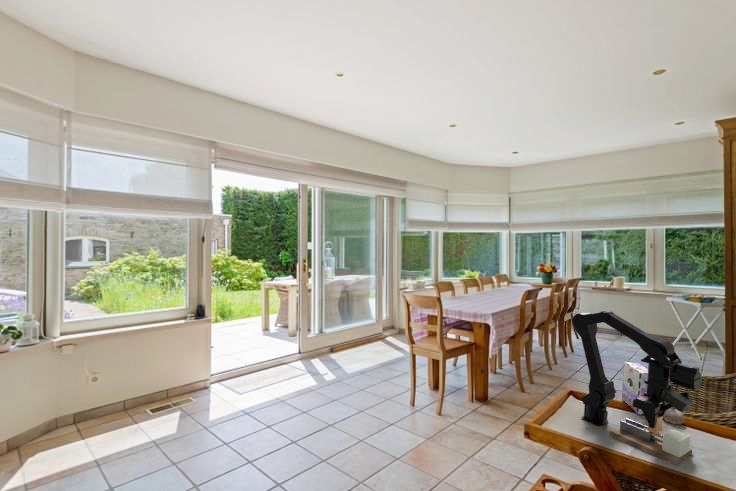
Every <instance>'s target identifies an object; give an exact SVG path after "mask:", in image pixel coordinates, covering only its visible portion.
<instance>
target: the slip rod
mask: <svg viewBox="0 0 736 491" xmlns="http://www.w3.org/2000/svg"><path fill="white" fill-rule="evenodd" d="M663 419H664V418H663V416H661V415H657V419H656V423H655V426H654V428H650V427H649V425H648V424H647V427H648V429H646V428H643V430H646V431H648V432H651V439H653V440H656V441H658V442H660V443H663V434H661V433H660V432H662V430H663Z"/></svg>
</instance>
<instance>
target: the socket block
mask: <svg viewBox="0 0 736 491" xmlns="http://www.w3.org/2000/svg"><path fill="white" fill-rule="evenodd" d="M662 435H663V443H662V450H663V451H665V452H668V453H670V454H672V455H675V456H677V457H681V456H683V455H684V454H686V453H687V452H689V448H690V442H691V435H690V434H686V433H684V432H681V431H679V430H676V429H674V428H673V429H671V430H668V431H667V432H665V433H663V434H662Z"/></svg>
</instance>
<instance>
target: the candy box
mask: <svg viewBox="0 0 736 491" xmlns="http://www.w3.org/2000/svg"><path fill="white" fill-rule="evenodd" d="M622 374H623V377H622V393H621V395H622V396H621V401H625V402H627V403H628V404H631V405H632V406H633V400H634V399H636V398H639V397H641V396H642V397H644V398H647V399H649V398H648V397H646V396H644V392H646V391H647V384H645V383H644V382H645V380H647V377H648V367H647V368H646V367H645V366H643V365H642V364H641V363H639V362H633V361H632V362H631V361H630V362H629V361H624V362H623V373H622ZM625 402H624V403H625ZM633 410H634V411H633ZM633 410H632V411H633V412H634V413H636V415H641V416H644V414H643V412H642V410H641V409H638V408H636V407H633Z"/></svg>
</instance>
